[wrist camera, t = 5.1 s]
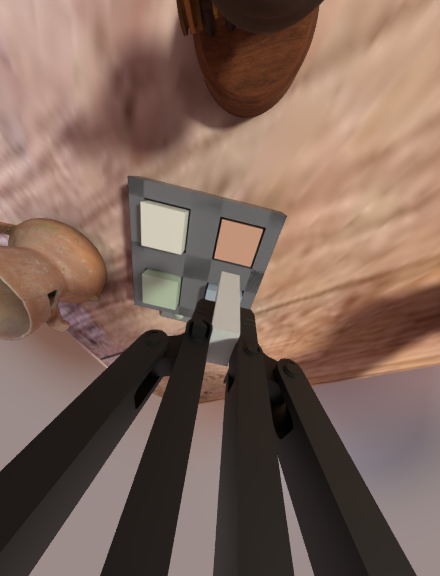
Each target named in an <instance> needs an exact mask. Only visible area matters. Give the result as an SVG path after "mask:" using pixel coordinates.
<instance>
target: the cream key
mask: <svg viewBox="0 0 440 576" xmlns="http://www.w3.org/2000/svg"><path fill="white" fill-rule="evenodd" d="M140 205H141V245H142V246H146V247H151V248H155V249H159V250H163V251H167V252H171V253H176V254H180V255H181V254H182V253H183V252H184V250H185V246H186V237H187V228H188V220H189V211H190V210H186V209H182V208H178V207H174V206H170V205H166V204H162V203H158V202H154V201H150V200H147V201H141V202H140Z"/></svg>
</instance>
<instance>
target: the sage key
mask: <svg viewBox="0 0 440 576" xmlns="http://www.w3.org/2000/svg"><path fill="white" fill-rule="evenodd" d="M181 281H182V276H178V275H174V274H170V273H166V272H161V271H157V270H153V269H149V268H148V269H147V270H146V271H145V272H144V273H143V274H142V291H143V303H147V304H151V305H155V306H160V307H164V308H168V309H173V310H175V309H176V307H177V305H178V303H179V298H180V290H181Z"/></svg>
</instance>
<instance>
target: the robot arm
mask: <svg viewBox="0 0 440 576" xmlns="http://www.w3.org/2000/svg"><path fill="white" fill-rule="evenodd" d="M206 362H210V363H215V364H219V365H224V366H228V363H229V369H228V372H227V374H226V377H225V379H224V382H223V383H226V390H225V406H224V421H223V435H222V450H221V465H220V481H219V495H218V510H217V526H216V541H215V555H214V556H215V557H214V570H213V576H294V570H293V564H292V556H291V549H290V542H289V534H288V527H287V521H286V513H285V506H284V500H283V492H282V485H281V477H280V470H279V463H278V458H279V461H280V464H281V468H282V471H283V474H284V477H285V481H286V484H287V487H288V490H289V494H290V497H291V500H292V504H293V507H294V510H295V513H296V517H297V520H298V523H299V526H300V530H301V533H302V536H303V540H304V543H305V546H306V549H307V552H308V556H309V559H310V562H311V566H312V569H313V572H314V576H416V574H415V572H414V570H413V568H412V567H411V565H410V563H409V561H408V559H407V557H406V556H405V554H404V552H403V550H402V549H401V547H400V545H399V543H398V541H397V540H396V538H395V536H394V534H393V533H392V531H391V529H390V527H389V525H388V523H387V522H386V520H385V518H384V516H383V514H382V513H381V511H380V509H379V507H378V505H377V504H376V502H375V500H374V498H373V496H372V495H371V493H370V491H369V489H368V487H367V486H366V484H365V482H364V480H363V479H362V477H361V475H360V473H359V471H358V470H357V468H356V466H355V464H354V462H353V461H352V459H351V457H350V455H349V454H348V452H347V450H346V448H345V446H344V444H343V443H342V441H341V439H340V437H339V435H338V434H337V432H336V430H335V428H334V427H333V425H332V423H331V421H330V419H329V418H328V416H327V414H326V412H325V410H324V409H323V407H322V405H321V404H320V401H319V400H318V398H317V396H316V394H315V392H314V391H313V389H312V387H311V385H310V383H309V382H308V380H307V378H306V376H305V374H304V373H303V371H302V369H301V368H300V367H299V365H297V364H296V363H295V362H294V361H292V360H290V359H285V358H284V359H280V360H279V361H276V360H274V359H272V358H270V357H268V356H267V355H265V354H264V353H263V351H262V348H261V347H260V346H259V344H258V341H257V332H256V324H255V316H254V314H253V312H252V310H250V309H246V308H242V307H240V275H235V274H231V273H227V272H223V271H222V273H221V277H220V281H219V285H218V289H217V293H216V297H215V301H211V300H206V299H200V300H199V301H198V302H197V305H196V308H195V310H194V313H193V316H192V318H191V319H190V320H188V322H187V324H186V330H185V333H183V334H181V335H178V336H167V334H166V333H165V332H163V331H161V330H149V331H146V332H145V333H143V334H142V335H141V336H140V337H139V338H138V339H137V340H136V341H135V342H134V343H133V344H132V345H131V346H130V347H129V348H128V349H126V350H125V351H124V352H123V353H122V354H121V355H120V356H119V357H118V358H117V359H116V360H115V361H114V362H113V363H112V364H111V365H110V366H109V367H108V368H107V369H106V370H105V371H104V372H103V373H102V374H101V375H100V376H99V377H97V379H95V380H94V381H93V382H92V383H91V384H90V385H89V386H88V387H87V388H86V389H85V390H84V391H83V392H82V393H81V394H80V395H79V396H78V397H77V398H76V399H75V400H74V401H73V402H72V403H71V404H70V405H69V406H67V408H66V409H64V410H63V411H62V412H61V413H60V414H59V415H58V416H57V417H56V418H55V419H54V420H53V421H52V422H51V423H50V424H49V425H48V426H47V427H46V428H45V429H44V430H43V431H42V432H41V433H40V434H39V435H37V436H36V437H35V438H34V439H33V440H32V441H31V442H30V443H29V444H28V445H27V446H26V447H25V448H24V449H23V450H22V451H21V452H20V453H19V454H18V455H17V456H16V457H15V458H14V459H13V460H12V461H11V462H10V463H9V464H8V465H6V466H5V467H4V468H3V469H2V470H1V472H0V576H29V574H30V573H31V571H32V570H33V568H34V567H35V565H36V564H37V562H38V561H39V559H40V558H41V556H42V555H43V553H44V552H45V551H46V549H47V548H48V546H49V545H50V543H51V542H52V540H53V539H54V537H55V536H56V534H57V533H58V531H59V530H60V528H61V527H62V525H63V524H64V522H65V521H66V519H67V518H68V517H69V515H70V514H71V512H72V511H73V509H74V508H75V506H76V505H77V503H78V502H79V500H80V499H81V497H82V496H83V494H84V493H85V491H86V490H87V489H88V487H89V486H90V484H91V482H92V481H93V480H94V478H95V477H96V475H97V474H98V472H99V471H100V469H101V468H102V466H103V465H104V463H105V462H106V460H107V459H108V458H109V456H110V455H111V453H112V451H113V450H114V449H115V447H116V446H117V444H118V443H119V441H120V440H121V438H122V437H123V435H124V434H125V432H126V431H127V429H128V428H129V427H130V425H131V424H132V422H133V421H134V419H135V417H136V416H137V415H138V413H139V412H140V410H141V409H142V407H143V406H144V404H145V403H146V401H147V400H148V398H149V397H150V396H151V394H152V393H153V391H154V390H155V388H156V387H157V385H158V384H159V382H160V381H161V379H162V378H163V376H170V378H169V381H168V384H167V387H166V390H165V392H164V395H163V398H162V401H161V404H160V407H159V410H158V412H157V415H156V418H155V421H154V424H153V427H152V430H151V432H150V436H149V438H148V441H147V444H146V447H145V450H144V452H143V455H142V458H141V461H140V464H139V467H138V470H137V472H136V475H135V478H134V481H133V484H132V487H131V490H130V492H129V495H128V498H127V501H126V504H125V507H124V510H123V512H122V515H121V518H120V521H119V524H118V527H117V529H116V532H115V535H114V538H113V541H112V544H111V546H110V549H109V553H108V555H107V558H106V561H105V564H104V566H103V569H102V572H101V575H100V576H168V570H169V565H170V559H171V553H172V547H173V542H174V537H175V531H176V526H177V520H178V514H179V509H180V503H181V497H182V492H183V487H184V481H185V476H186V470H187V464H188V459H189V453H190V448H191V442H192V437H193V430H194V425H195V420H196V414H197V408H198V403H199V398H200V392H201V387H202V381H203V375H204V370H205V364H206ZM277 455H278V456H277Z"/></svg>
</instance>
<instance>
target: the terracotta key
mask: <svg viewBox="0 0 440 576" xmlns="http://www.w3.org/2000/svg"><path fill="white" fill-rule="evenodd" d="M262 232H263V228H262V227H261V226H257V225H252V224H248V223H244V222H240V221H236V220H232V219H228V218H224V217H223V219H222V223H221V228H220V233H219V237H218V242H217V247H216V252H215V256H214V258H215V259H219V260H223V261H228V262H232V263H236V264H240V265H244V266H248V267H251V264H252V261H253V258H254V255H255V252H256V249H257V246H258V244H259V241H260V238H261V235H262Z"/></svg>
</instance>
